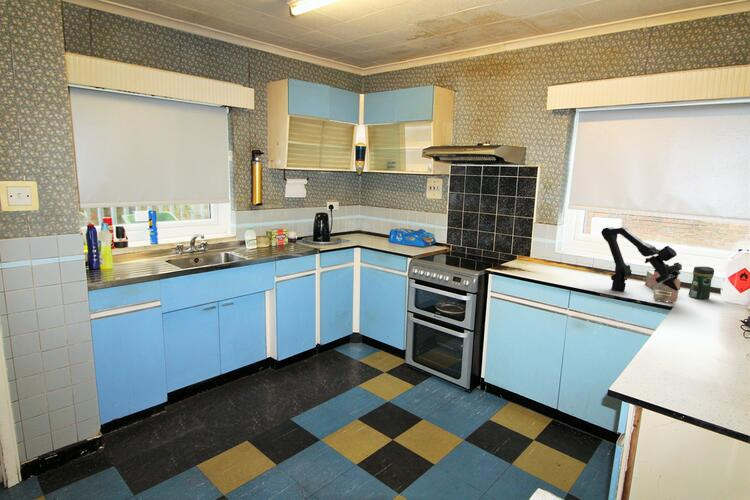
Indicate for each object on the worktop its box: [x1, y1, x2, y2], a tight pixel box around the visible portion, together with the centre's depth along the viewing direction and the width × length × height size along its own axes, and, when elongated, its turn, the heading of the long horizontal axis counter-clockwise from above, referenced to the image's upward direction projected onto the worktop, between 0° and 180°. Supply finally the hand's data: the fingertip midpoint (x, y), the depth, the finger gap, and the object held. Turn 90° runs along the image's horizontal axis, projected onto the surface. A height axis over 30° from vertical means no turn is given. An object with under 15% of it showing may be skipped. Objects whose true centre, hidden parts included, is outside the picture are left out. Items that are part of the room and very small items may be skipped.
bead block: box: [653, 290, 674, 303], centre depth 242 cm, size 9×9×4 cm
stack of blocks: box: [644, 270, 672, 292], centre depth 261 cm, size 21×6×12 cm, turn 169°
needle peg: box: [670, 278, 681, 303], centre depth 232 cm, size 3×3×12 cm
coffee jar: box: [688, 266, 715, 300], centre depth 248 cm, size 10×8×19 cm
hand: (678, 290), depth 231 cm, fingers closed on needle peg, 3 cm apart
